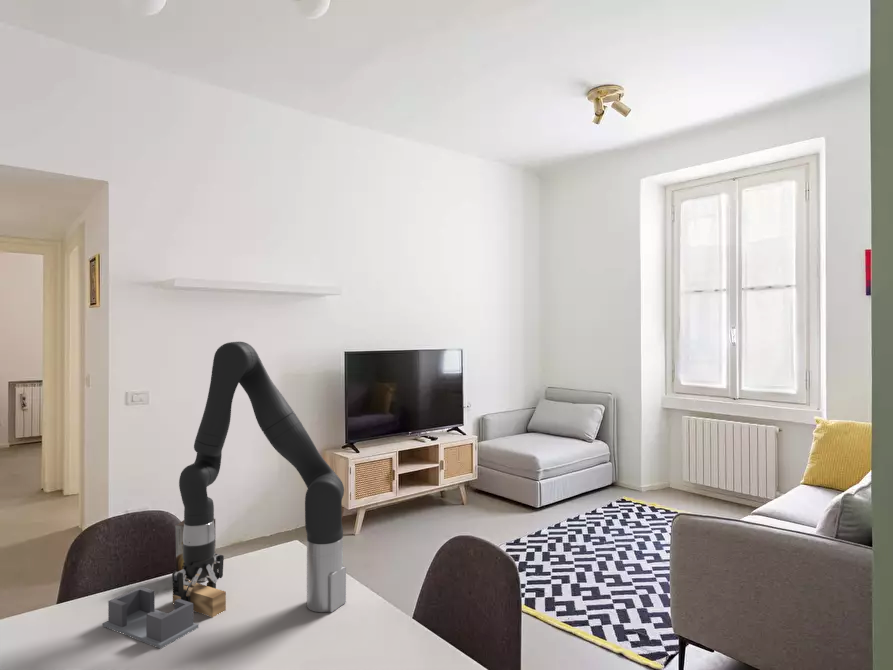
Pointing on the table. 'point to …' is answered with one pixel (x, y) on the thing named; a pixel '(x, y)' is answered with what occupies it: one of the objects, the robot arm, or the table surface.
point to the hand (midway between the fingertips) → (198, 603)
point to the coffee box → (179, 548)
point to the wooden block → (206, 599)
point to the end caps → (149, 618)
